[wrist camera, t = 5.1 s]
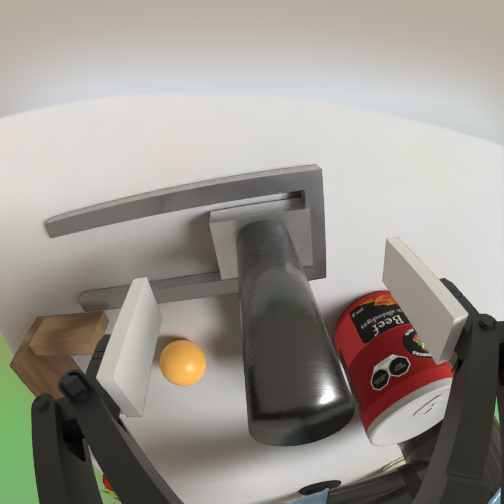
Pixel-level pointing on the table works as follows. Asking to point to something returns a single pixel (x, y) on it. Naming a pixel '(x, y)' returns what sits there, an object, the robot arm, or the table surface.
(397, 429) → the canned food
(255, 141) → the table surface
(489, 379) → the robot arm
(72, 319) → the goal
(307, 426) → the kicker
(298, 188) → the rail
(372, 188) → the table surface
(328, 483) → the handle grip
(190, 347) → the ball
